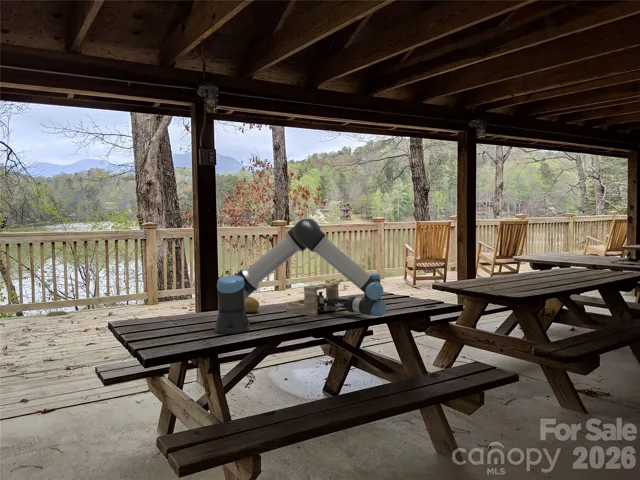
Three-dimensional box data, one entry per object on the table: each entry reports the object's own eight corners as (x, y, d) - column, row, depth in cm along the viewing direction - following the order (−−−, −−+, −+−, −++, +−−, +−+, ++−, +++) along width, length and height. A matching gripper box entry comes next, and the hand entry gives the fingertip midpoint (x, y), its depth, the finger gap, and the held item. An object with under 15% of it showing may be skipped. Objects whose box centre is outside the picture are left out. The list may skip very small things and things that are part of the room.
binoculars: (301, 293, 241) (313, 289, 248) (303, 313, 242) (315, 308, 250) (314, 295, 235) (326, 290, 243) (316, 315, 236) (328, 310, 244)
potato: (246, 315, 238) (246, 300, 237) (236, 311, 250) (236, 296, 249) (264, 313, 243) (263, 297, 242) (253, 309, 255) (253, 294, 254)
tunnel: (314, 316, 230) (314, 288, 229) (286, 311, 245) (285, 284, 244) (338, 310, 243) (338, 283, 242) (310, 306, 258) (309, 281, 257)
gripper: (347, 315, 219) (312, 309, 235) (365, 310, 228) (329, 305, 245) (347, 299, 219) (311, 294, 235) (364, 295, 228) (329, 291, 245)
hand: (321, 300), depth 240 cm, fingers closed
